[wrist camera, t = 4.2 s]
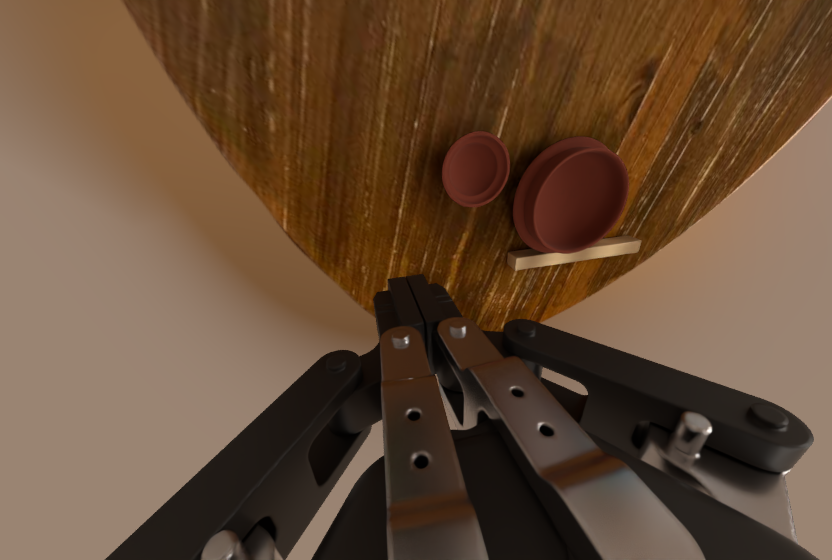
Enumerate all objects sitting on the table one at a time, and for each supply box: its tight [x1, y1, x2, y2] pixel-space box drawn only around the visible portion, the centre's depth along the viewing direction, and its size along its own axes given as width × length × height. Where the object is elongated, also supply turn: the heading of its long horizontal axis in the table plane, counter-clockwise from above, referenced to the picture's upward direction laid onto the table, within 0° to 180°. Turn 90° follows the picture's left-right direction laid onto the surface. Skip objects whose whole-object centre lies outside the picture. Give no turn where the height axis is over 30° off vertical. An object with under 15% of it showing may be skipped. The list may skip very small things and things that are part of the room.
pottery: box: [442, 131, 629, 254], centre depth 30 cm, size 12×20×4 cm, turn 73°
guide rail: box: [507, 236, 641, 270], centre depth 36 cm, size 16×2×2 cm, turn 93°
